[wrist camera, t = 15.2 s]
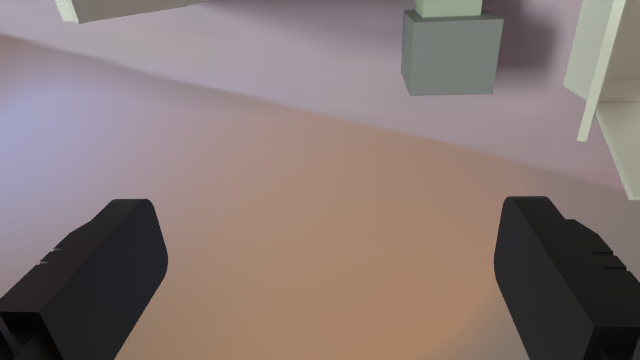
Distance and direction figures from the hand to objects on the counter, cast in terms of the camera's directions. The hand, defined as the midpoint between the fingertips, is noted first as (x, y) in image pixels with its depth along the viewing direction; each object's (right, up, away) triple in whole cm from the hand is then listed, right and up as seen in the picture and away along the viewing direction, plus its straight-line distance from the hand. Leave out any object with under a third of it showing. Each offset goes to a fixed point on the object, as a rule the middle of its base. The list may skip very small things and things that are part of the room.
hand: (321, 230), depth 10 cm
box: (+10, +17, +23) cm, 30 cm away
